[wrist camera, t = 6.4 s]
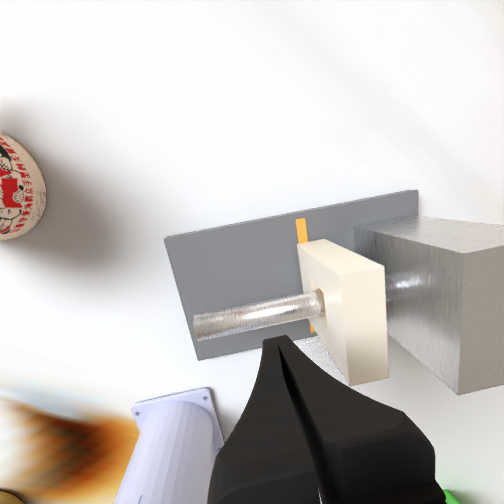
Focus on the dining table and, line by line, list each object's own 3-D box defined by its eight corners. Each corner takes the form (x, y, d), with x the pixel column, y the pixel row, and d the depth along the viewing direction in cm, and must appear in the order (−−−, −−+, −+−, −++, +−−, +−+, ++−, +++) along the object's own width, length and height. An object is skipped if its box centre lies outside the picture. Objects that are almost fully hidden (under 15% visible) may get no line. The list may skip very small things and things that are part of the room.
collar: (332, 311, 21) (388, 377, 14) (306, 317, 21) (349, 386, 14) (324, 238, 20) (384, 266, 12) (296, 244, 20) (339, 275, 12)
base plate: (409, 308, 24) (419, 314, 23) (199, 352, 23) (197, 361, 22) (408, 190, 21) (419, 189, 20) (167, 236, 20) (163, 239, 19)
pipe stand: (408, 297, 22) (544, 375, 13) (214, 338, 22) (199, 454, 12) (407, 215, 20) (567, 232, 11) (193, 257, 20) (155, 317, 10)
